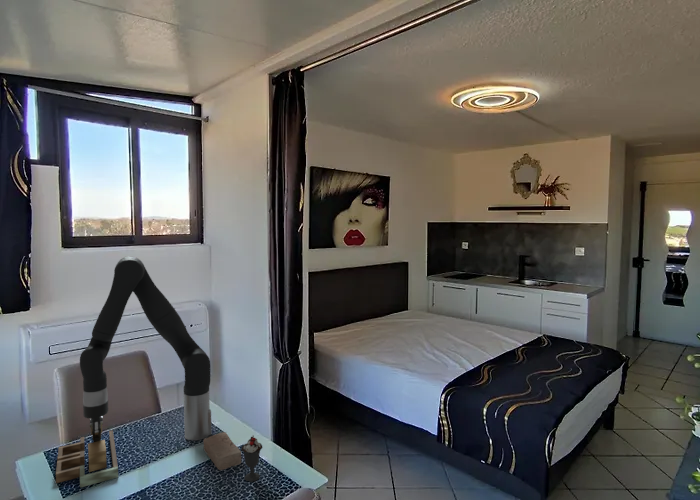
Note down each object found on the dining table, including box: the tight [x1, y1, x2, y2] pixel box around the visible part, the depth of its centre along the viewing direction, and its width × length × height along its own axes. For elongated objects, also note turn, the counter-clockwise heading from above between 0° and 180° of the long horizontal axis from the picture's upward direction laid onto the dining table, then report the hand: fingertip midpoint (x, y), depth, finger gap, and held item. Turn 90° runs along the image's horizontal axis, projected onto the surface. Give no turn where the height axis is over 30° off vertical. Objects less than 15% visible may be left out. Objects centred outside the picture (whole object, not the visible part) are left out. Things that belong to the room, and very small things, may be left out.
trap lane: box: [55, 430, 119, 488], centre depth 145 cm, size 17×29×3 cm, turn 32°
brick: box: [203, 431, 242, 471], centre depth 150 cm, size 17×8×5 cm, turn 37°
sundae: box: [240, 435, 263, 483], centre depth 138 cm, size 7×7×15 cm
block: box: [87, 439, 108, 473], centre depth 145 cm, size 5×8×6 cm, turn 33°
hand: (97, 448), depth 151 cm, fingers closed
